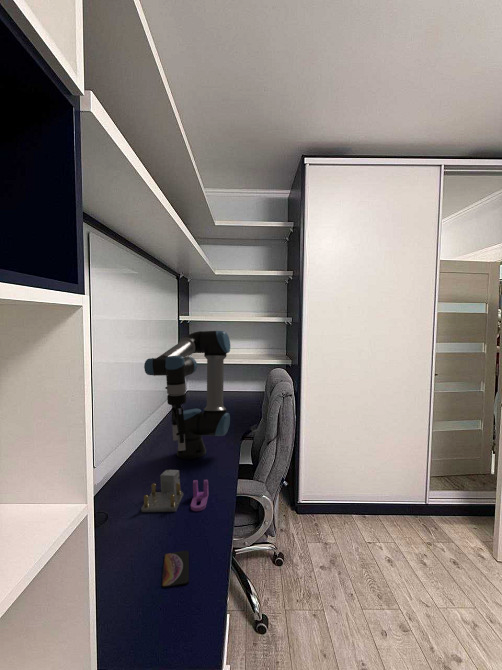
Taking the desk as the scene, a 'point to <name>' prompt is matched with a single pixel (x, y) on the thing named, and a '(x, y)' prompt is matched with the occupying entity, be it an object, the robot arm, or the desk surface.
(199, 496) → the bracket
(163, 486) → the skincare box
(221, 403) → the robot arm
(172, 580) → the smartphone
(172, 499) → the chassis
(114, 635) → the desk surface
